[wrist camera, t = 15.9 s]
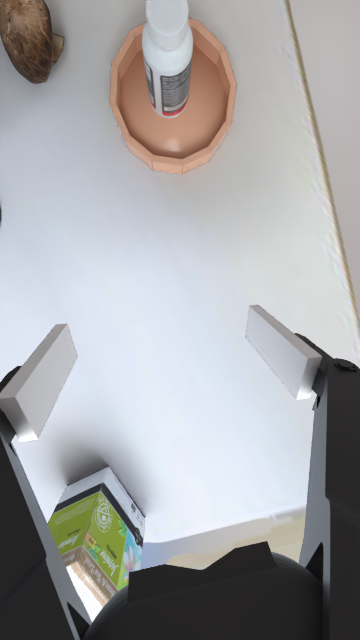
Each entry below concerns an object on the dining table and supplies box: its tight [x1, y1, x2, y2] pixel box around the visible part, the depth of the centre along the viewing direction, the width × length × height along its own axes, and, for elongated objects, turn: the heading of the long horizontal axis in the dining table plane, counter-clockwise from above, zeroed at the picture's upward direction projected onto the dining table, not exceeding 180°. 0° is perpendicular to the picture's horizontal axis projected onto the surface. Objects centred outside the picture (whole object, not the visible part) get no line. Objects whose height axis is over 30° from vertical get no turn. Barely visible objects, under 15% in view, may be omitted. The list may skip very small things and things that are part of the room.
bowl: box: [110, 18, 237, 174], centre depth 29 cm, size 16×16×2 cm
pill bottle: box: [142, 0, 193, 119], centre depth 24 cm, size 5×5×10 cm
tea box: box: [47, 467, 145, 622], centre depth 36 cm, size 15×10×15 cm, turn 27°
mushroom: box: [0, 0, 64, 84], centre depth 26 cm, size 8×8×6 cm
